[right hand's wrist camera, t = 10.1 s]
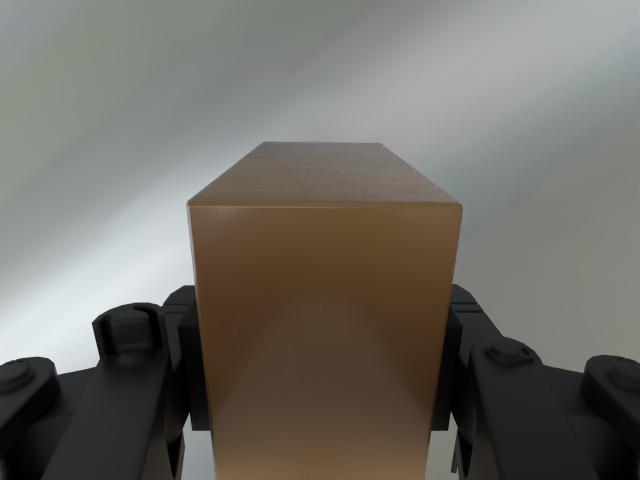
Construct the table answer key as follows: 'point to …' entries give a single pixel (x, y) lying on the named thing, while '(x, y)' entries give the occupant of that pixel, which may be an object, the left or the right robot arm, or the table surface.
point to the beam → (322, 311)
